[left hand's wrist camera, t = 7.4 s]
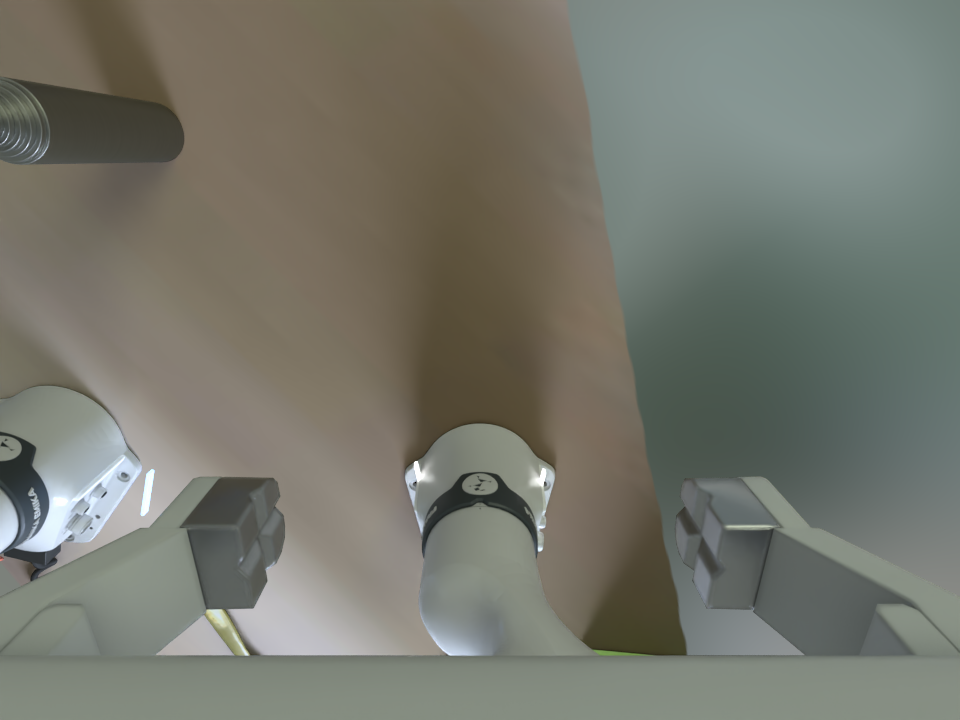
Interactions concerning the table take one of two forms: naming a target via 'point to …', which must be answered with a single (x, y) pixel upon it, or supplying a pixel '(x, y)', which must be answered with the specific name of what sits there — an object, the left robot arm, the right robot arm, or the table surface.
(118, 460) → the right robot arm
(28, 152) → the bottle
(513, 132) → the table surface
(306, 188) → the table surface
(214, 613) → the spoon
